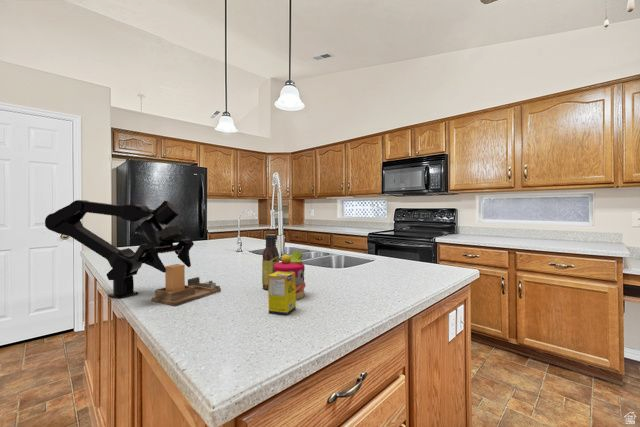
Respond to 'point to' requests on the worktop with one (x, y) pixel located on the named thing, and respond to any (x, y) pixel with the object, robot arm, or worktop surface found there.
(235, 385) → the worktop surface
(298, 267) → the cake
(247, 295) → the worktop surface
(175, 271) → the block
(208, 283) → the bolt
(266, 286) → the sauce bottle
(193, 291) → the housing
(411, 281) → the worktop surface
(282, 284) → the supplement box
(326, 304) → the worktop surface
